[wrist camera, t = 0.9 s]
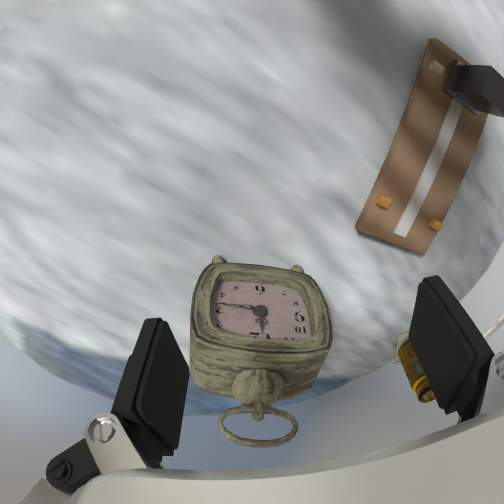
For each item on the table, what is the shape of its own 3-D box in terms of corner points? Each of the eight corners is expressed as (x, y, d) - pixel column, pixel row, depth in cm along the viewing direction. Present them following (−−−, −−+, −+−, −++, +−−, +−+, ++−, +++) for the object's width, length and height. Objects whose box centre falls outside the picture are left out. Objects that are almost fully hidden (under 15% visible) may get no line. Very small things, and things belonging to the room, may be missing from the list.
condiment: (393, 362, 54) (412, 410, 43) (397, 334, 50) (420, 385, 39) (425, 352, 53) (446, 397, 43) (431, 324, 49) (458, 371, 39)
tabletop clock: (312, 258, 42) (360, 423, 20) (297, 308, 46) (323, 464, 24) (205, 244, 40) (166, 414, 19) (201, 298, 45) (173, 457, 23)
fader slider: (453, 59, 25) (488, 59, 19) (483, 84, 26) (519, 89, 20) (442, 91, 28) (478, 96, 22) (473, 114, 29) (509, 124, 22)
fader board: (429, 39, 26) (438, 37, 24) (489, 86, 28) (499, 87, 26) (354, 225, 39) (360, 233, 37) (419, 250, 41) (426, 258, 39)
